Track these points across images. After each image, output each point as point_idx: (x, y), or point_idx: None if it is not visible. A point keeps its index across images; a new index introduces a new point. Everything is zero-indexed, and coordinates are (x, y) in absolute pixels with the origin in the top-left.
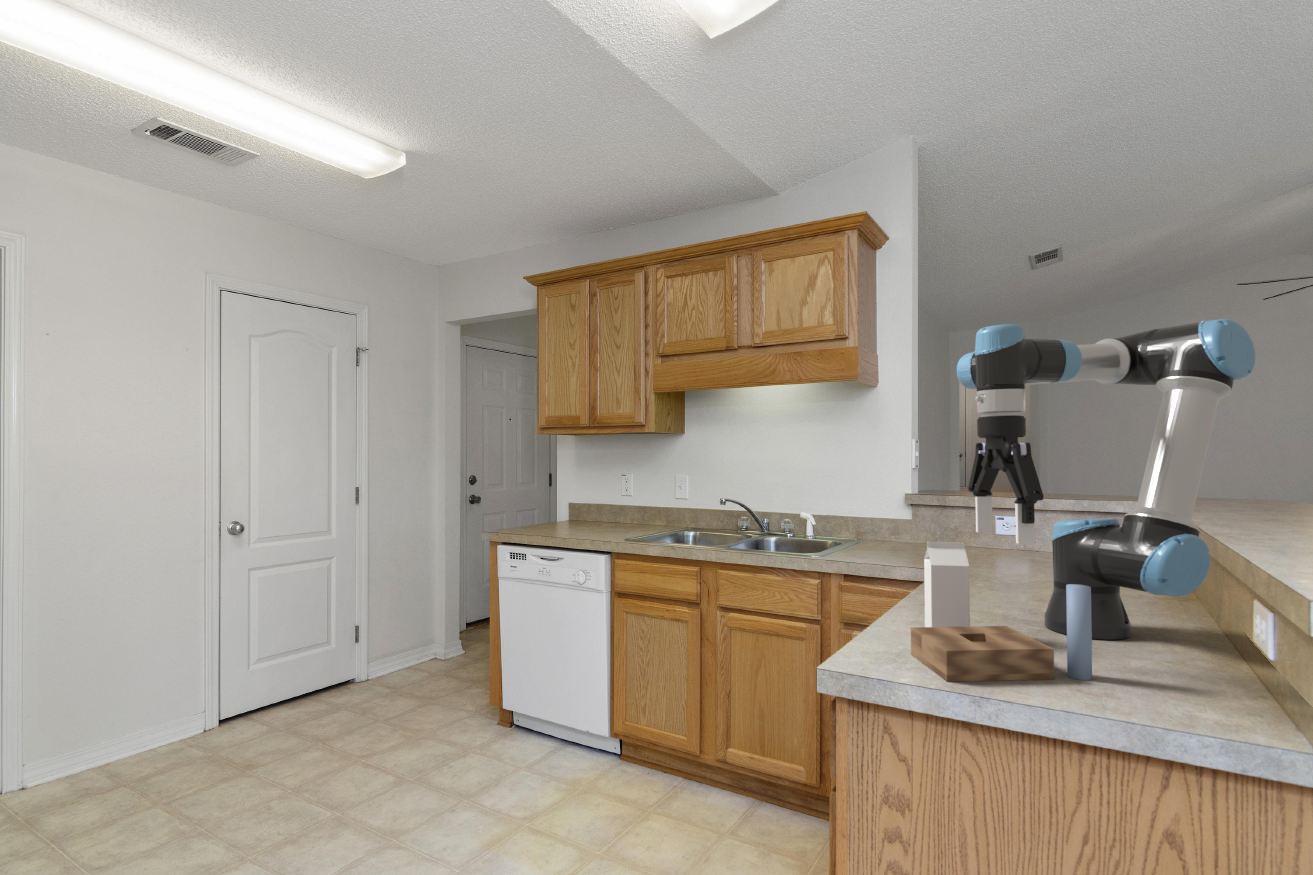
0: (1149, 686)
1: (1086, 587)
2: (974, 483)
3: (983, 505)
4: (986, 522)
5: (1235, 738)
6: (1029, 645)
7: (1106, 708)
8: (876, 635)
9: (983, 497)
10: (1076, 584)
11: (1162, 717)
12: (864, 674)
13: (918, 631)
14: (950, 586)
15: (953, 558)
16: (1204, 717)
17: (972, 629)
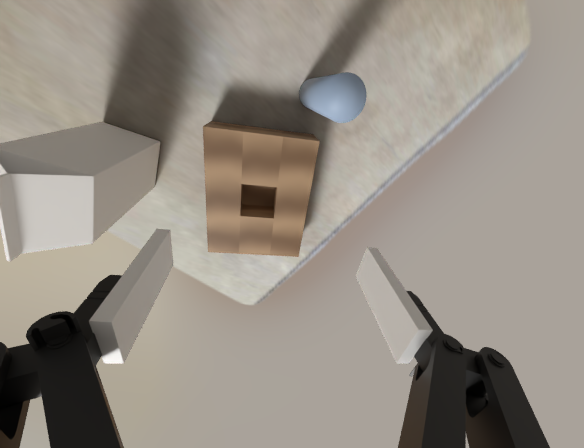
0: (364, 24)
1: (358, 90)
2: (20, 428)
3: (136, 315)
4: (160, 263)
5: (485, 82)
6: (300, 162)
7: (391, 144)
8: (135, 238)
9: (120, 344)
10: (328, 86)
11: (427, 107)
12: (266, 288)
13: (226, 251)
14: (117, 194)
15: (65, 204)
16: (448, 58)
17: (220, 187)
